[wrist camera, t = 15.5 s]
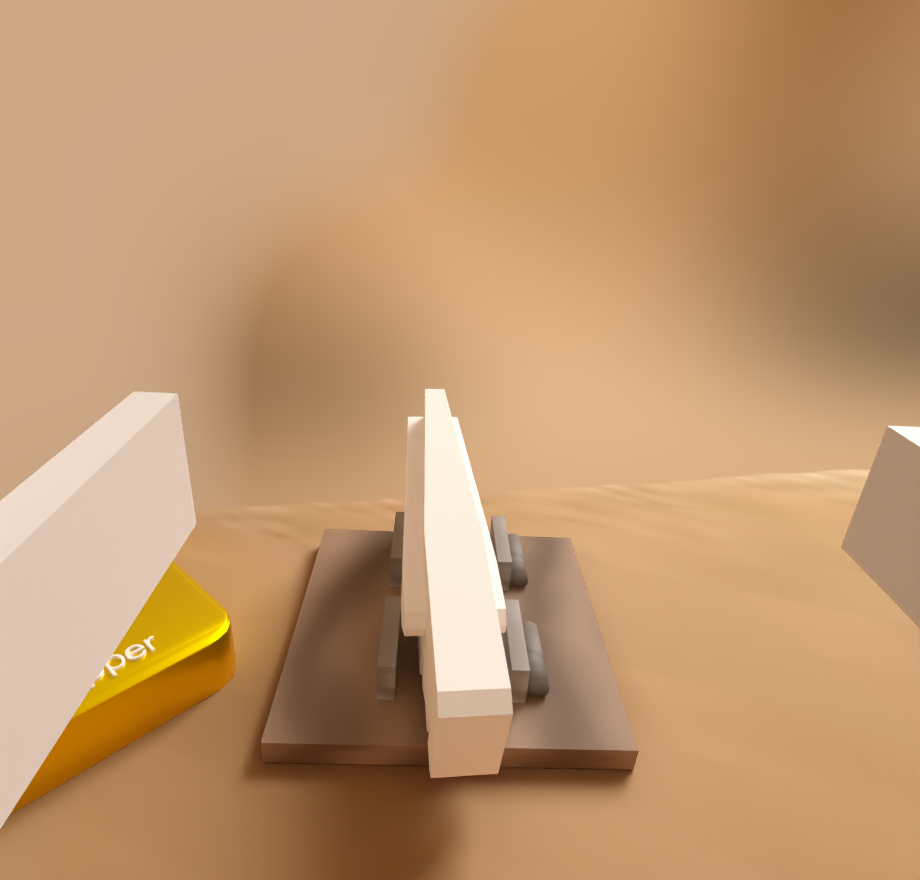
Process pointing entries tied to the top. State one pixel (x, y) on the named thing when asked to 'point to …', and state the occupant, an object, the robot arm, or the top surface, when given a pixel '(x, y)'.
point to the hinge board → (397, 662)
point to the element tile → (145, 679)
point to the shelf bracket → (453, 599)
